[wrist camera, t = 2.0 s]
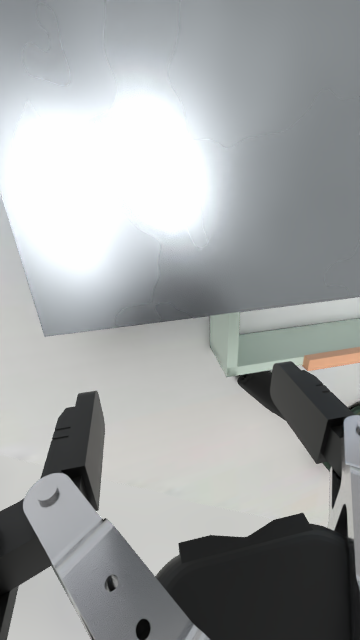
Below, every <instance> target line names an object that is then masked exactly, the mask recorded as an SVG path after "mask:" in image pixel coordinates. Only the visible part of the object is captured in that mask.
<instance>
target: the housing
mask: <svg viewBox="0 0 360 640" xmlns="http://www.w3.org/2000/svg"><path fill="white" fill-rule="evenodd" d="M0 193H1V197H2V200H3V203H4V206H5V210H6V213H7V216H8V219H9V223H10V226H11V229H12V232H13V236H14V239H15V242H16V245H17V249H18V252H19V255H20V258H21V262H22V265H23V268H24V271H25V275H26V278H27V281H28V284H29V288H30V291H31V294H32V297H33V301H34V304H35V307H36V310H37V313H38V317H39V320H40V323H41V326H42V330H43V333H44V336H45V337H46V336H54V335H62V334H70V333H78V332H86V331H93V330H101V329H109V328H117V327H125V326H133V325H141V324H149V323H157V322H165V321H173V320H181V319H189V318H197V317H205V316H213V315H220V314H228V313H236V312H244V311H252V310H260V309H268V308H276V307H284V306H292V305H300V304H308V303H316V302H324V301H332V300H340V299H348V298H355V297H360V0H0Z"/></svg>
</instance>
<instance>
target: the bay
mask: <svg viewBox="0 0 360 640" xmlns="http://www.w3.org/2000/svg"><path fill="white" fill-rule="evenodd" d="M239 325H240V312H236V313H228V314H220V315H213V316H210V347H211V349H212V351H213V353H214V355H215V357H216V358H217V360H218V362H219V364H220V366H221V368H222V369H223V371H224V373H225V375H226V377H230V376H237V375H243V374H249V373H255V372H261V371H268V370H272V369H273V365H274V364H275V363H281V362H287V361H292V362H293V363H294V364H295V365H296V366H299V365H302V366H303V367H304V368H305V369H306V370H307V371H311V370H318V369H324V368H330V367H336V366H342V365H348V364H354V363H360V318H358V319H351V320H343V321H336V322H329V323H322V324H315V325H307V326H300V327H293V328H286V329H278V330H271V331H264V332H257V333H250V334H242V335H239Z"/></svg>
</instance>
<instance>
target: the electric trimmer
mask: <svg viewBox="0 0 360 640" xmlns="http://www.w3.org/2000/svg"><path fill="white" fill-rule="evenodd" d="M271 378H272V374H271V373H269V372H267V371H261V372H255V373H249V374H243V375H242V376H241V377H240V378H239V379H238V381H237V382H238V384H239V385H240V386H241V387H242V388H243V389H244V390H245V391H247V392H248V393H249V394H250V395H251V396H253V397H254V398H255V399H256V400H257V401H259V402H260V403H261V404H262V405H263V406H265V407H266V408H267V409H269V410H270V411H271V412H273V413H275V414H277V415H278V416H280V417H281V418H283V419H284V420H285V418H284V417H283V415H282V414H281V413H280V411H279V410H278V408H277V407H276V406H275V404H274V403H273V401H272V398H271V394H270V386H271Z"/></svg>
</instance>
